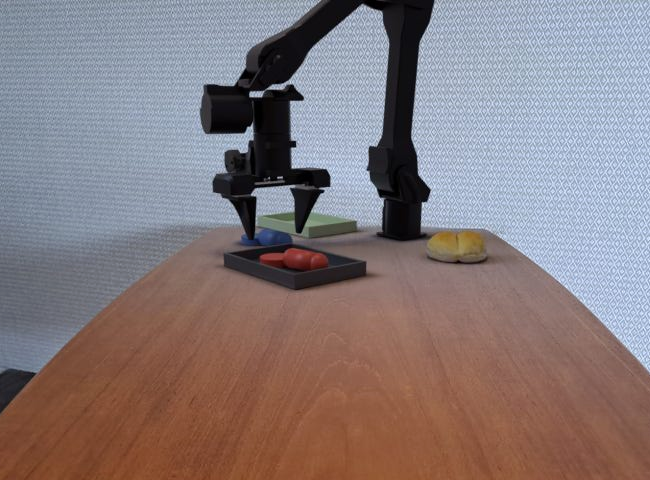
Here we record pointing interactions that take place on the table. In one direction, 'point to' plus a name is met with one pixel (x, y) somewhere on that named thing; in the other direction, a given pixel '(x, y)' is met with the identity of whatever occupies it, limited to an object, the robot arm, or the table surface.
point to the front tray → (292, 278)
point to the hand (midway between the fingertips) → (275, 236)
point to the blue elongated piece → (267, 238)
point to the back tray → (308, 224)
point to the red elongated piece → (296, 260)
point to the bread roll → (457, 247)
